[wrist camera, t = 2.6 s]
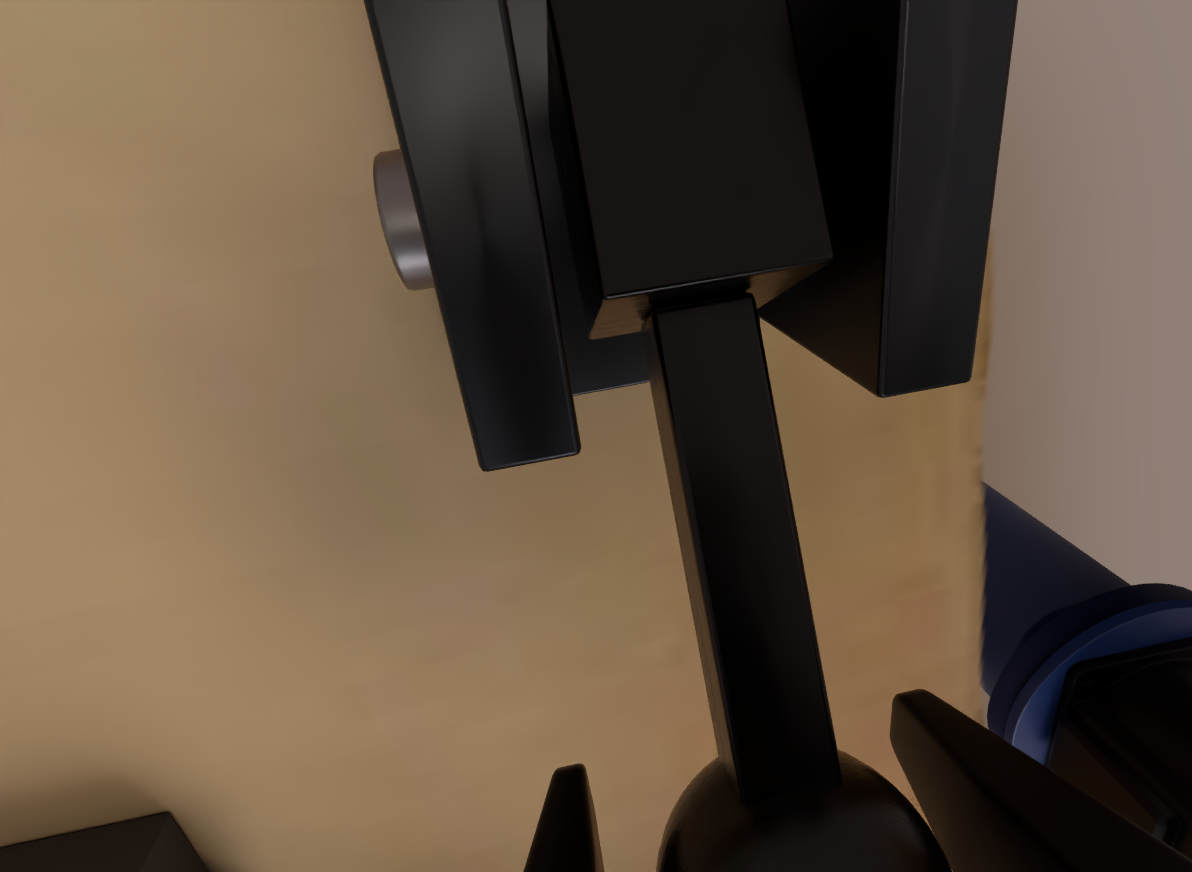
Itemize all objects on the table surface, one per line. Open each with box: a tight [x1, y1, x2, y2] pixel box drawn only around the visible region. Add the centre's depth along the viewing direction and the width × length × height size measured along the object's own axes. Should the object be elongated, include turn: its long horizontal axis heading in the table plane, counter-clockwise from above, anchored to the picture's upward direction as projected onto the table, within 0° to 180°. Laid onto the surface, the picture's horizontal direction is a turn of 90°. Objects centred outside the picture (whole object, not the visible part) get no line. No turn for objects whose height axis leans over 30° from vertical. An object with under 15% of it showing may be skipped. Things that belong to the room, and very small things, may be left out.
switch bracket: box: [364, 0, 1018, 472], centre depth 10 cm, size 10×7×10 cm
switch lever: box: [546, 0, 952, 872], centre depth 7 cm, size 11×3×3 cm, turn 8°
